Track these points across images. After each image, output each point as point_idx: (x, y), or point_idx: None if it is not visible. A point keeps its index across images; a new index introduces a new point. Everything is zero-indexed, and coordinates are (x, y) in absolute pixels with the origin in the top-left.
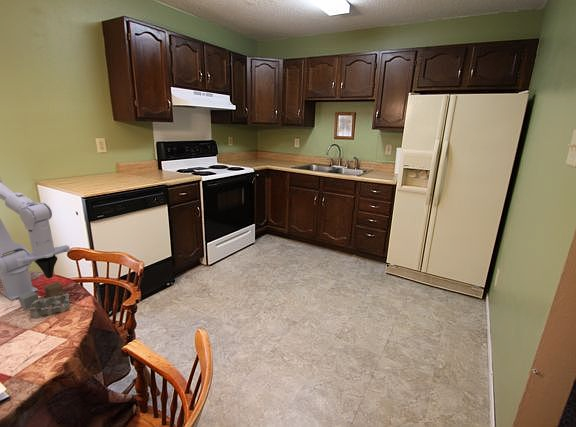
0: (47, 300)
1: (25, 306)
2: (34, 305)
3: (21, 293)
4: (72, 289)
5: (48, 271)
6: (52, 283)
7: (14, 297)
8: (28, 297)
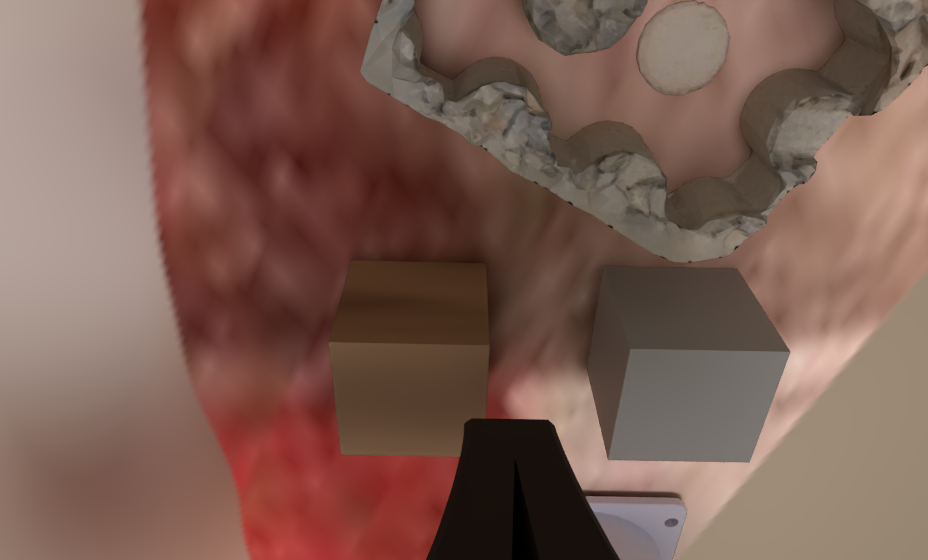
0: (610, 159)
1: (746, 290)
2: (726, 205)
3: (603, 524)
4: (243, 287)
5: (560, 553)
6: (391, 450)
7: (657, 512)
8: (732, 350)
